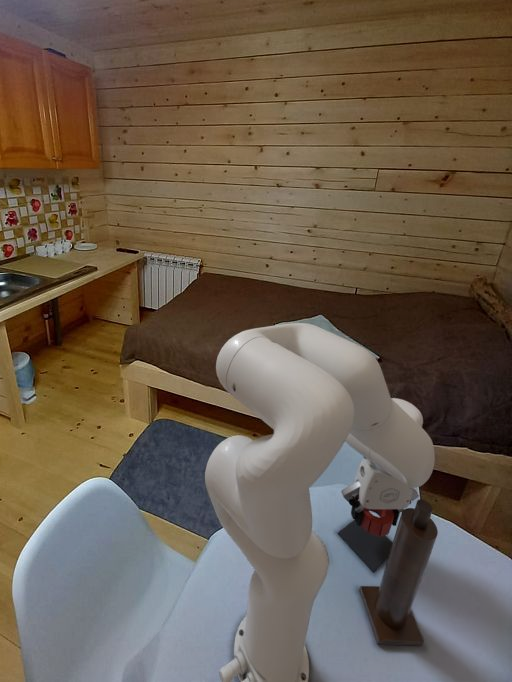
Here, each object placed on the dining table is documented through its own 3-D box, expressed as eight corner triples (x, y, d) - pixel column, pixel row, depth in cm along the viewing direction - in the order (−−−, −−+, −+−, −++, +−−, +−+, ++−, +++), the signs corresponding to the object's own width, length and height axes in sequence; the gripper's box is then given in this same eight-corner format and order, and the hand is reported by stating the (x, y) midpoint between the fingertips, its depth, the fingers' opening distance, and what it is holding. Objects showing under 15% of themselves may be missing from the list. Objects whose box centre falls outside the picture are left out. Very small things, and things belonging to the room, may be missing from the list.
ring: (378, 543, 70) (381, 531, 69) (349, 513, 76) (352, 502, 75) (397, 526, 74) (401, 514, 72) (368, 499, 79) (371, 488, 78)
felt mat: (372, 572, 71) (373, 571, 71) (337, 533, 78) (337, 532, 78) (398, 549, 75) (398, 547, 75) (362, 514, 83) (362, 513, 83)
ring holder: (377, 644, 60) (413, 530, 51) (358, 590, 68) (387, 482, 58) (422, 645, 60) (467, 532, 51) (398, 591, 68) (434, 483, 58)
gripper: (354, 473, 65) (340, 537, 71) (444, 473, 65) (422, 537, 71) (339, 442, 72) (328, 502, 78) (420, 442, 72) (402, 502, 78)
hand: (373, 518), depth 75 cm, fingers closed on ring, 7 cm apart
